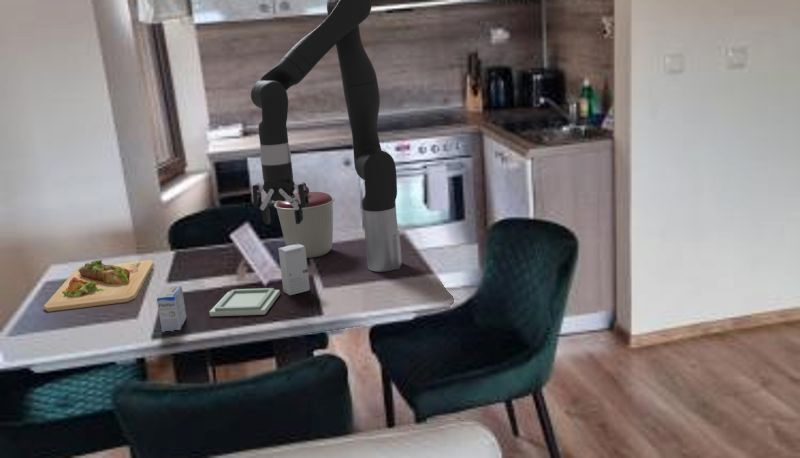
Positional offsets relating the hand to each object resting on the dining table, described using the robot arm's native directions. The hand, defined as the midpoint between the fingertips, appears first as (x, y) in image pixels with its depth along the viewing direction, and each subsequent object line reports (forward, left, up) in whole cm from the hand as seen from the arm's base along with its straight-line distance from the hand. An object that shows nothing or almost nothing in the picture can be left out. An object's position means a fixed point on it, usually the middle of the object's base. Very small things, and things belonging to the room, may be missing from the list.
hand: (283, 223), depth 195 cm
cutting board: (+59, -11, -19) cm, 63 cm away
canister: (+3, -33, -19) cm, 38 cm away
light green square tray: (+10, +9, -19) cm, 23 cm away
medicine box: (+24, +21, -19) cm, 37 cm away
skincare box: (-1, 0, -19) cm, 19 cm away
